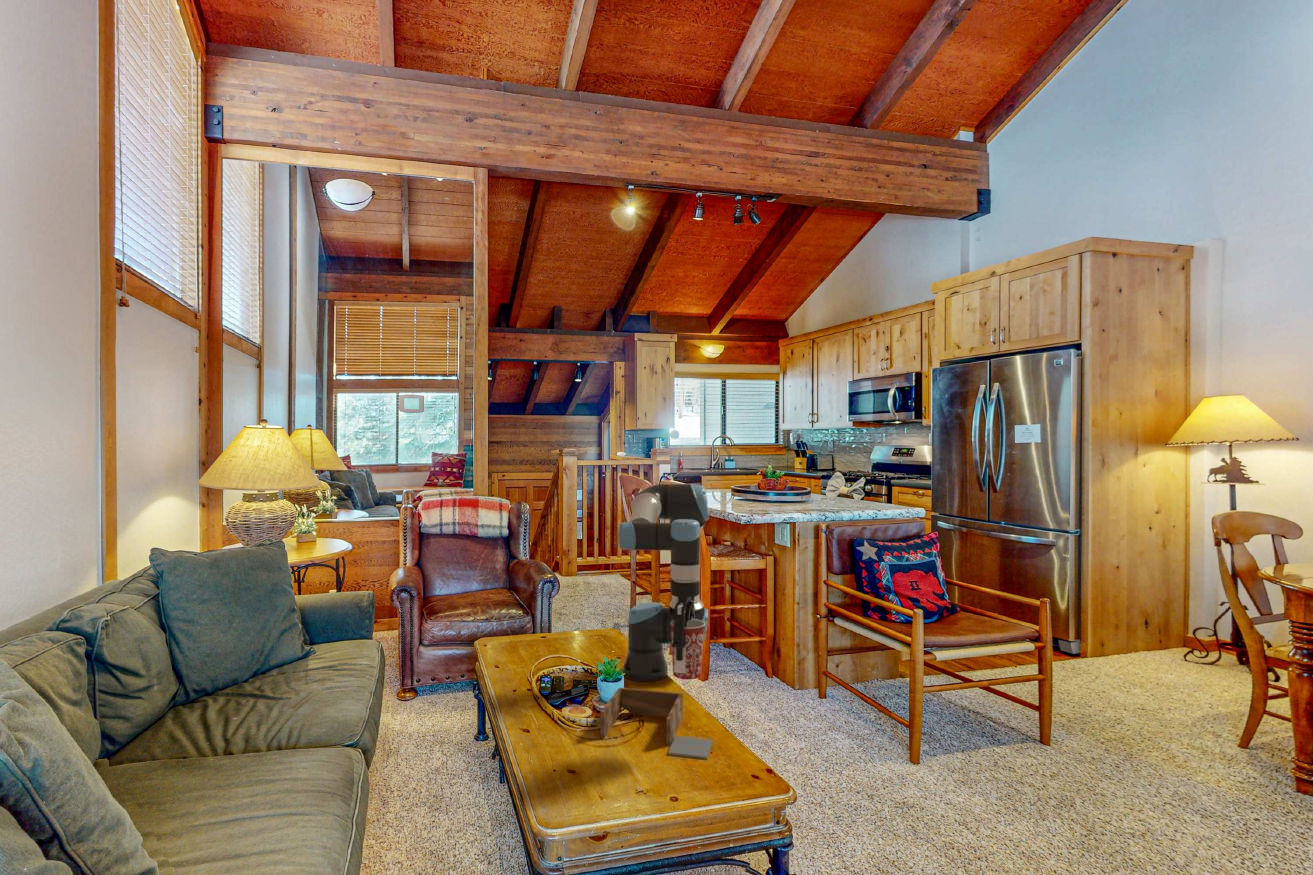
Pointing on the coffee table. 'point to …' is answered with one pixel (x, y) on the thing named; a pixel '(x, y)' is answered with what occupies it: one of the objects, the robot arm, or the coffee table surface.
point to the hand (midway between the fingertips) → (684, 665)
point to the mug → (691, 649)
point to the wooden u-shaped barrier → (644, 708)
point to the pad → (690, 747)
